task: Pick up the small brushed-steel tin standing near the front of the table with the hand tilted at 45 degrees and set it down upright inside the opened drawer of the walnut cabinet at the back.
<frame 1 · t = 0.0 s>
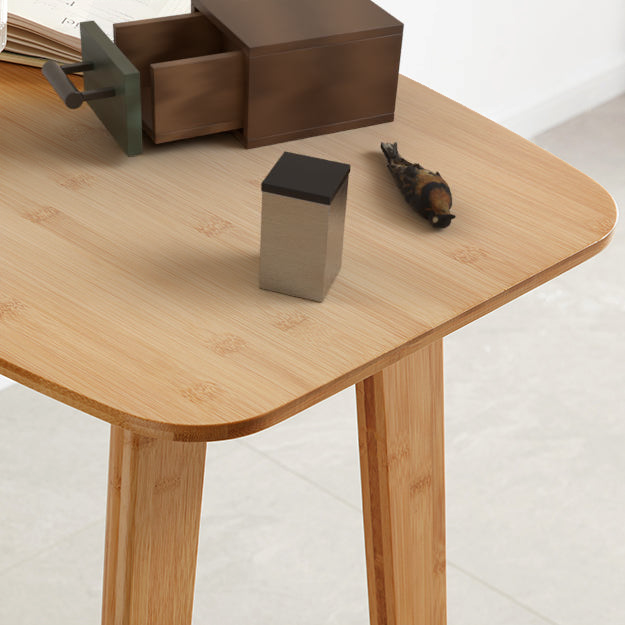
bird model: (414, 195, 86), on the table
drawer: (155, 80, 89), point 4 cm above the table, slide at 8.5 cm
steel tin: (300, 277, 76), on the table
cabinet: (291, 105, 97), on the table
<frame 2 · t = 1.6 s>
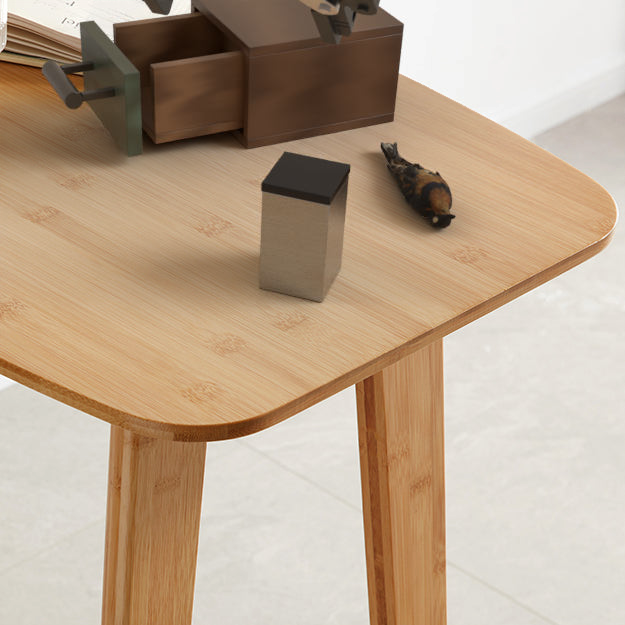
hand: (250, 10, 54), 23 cm above the table, tool tilted 45°, fingers open, 8 cm apart
nothing on the table moved.
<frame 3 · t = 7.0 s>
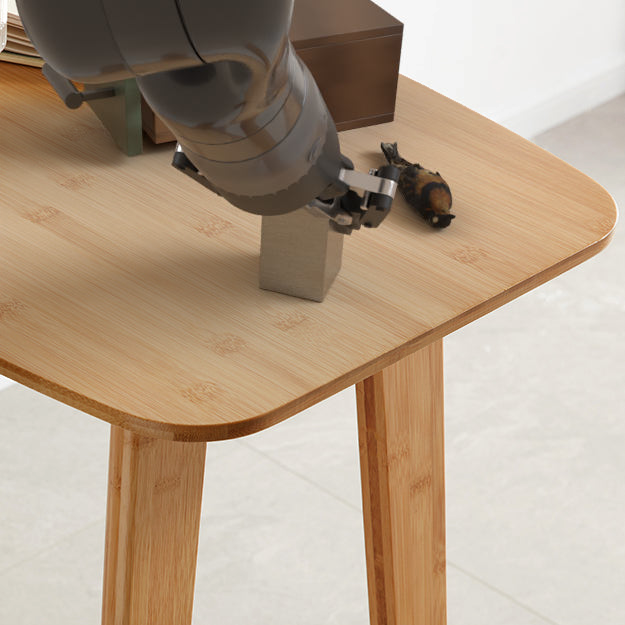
hand: (312, 211, 75), 4 cm above the table, tool tilted 45°, fingers closed on steel tin, 4 cm apart
steel tin: (300, 277, 76), on the table, touching gripper
everything else where it was.
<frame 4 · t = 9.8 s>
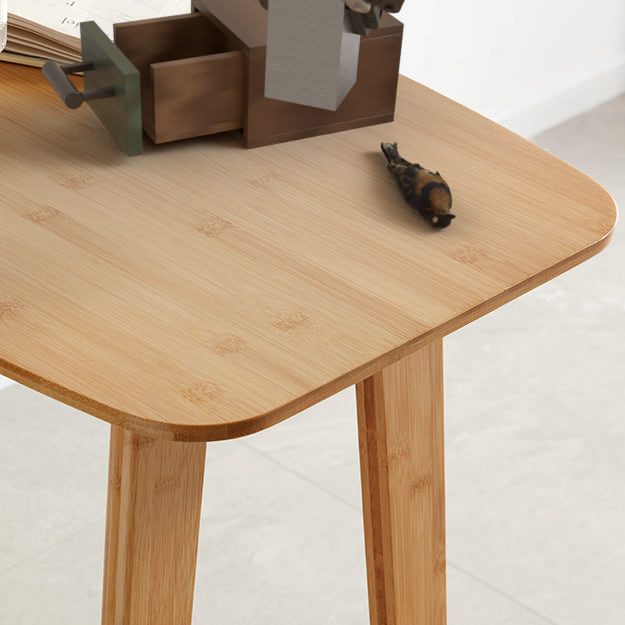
hand: (324, 12, 67), 18 cm above the table, tool tilted 45°, fingers closed on steel tin, 4 cm apart
steel tin: (310, 89, 68), point 14 cm above the table, touching gripper
everything else where it was.
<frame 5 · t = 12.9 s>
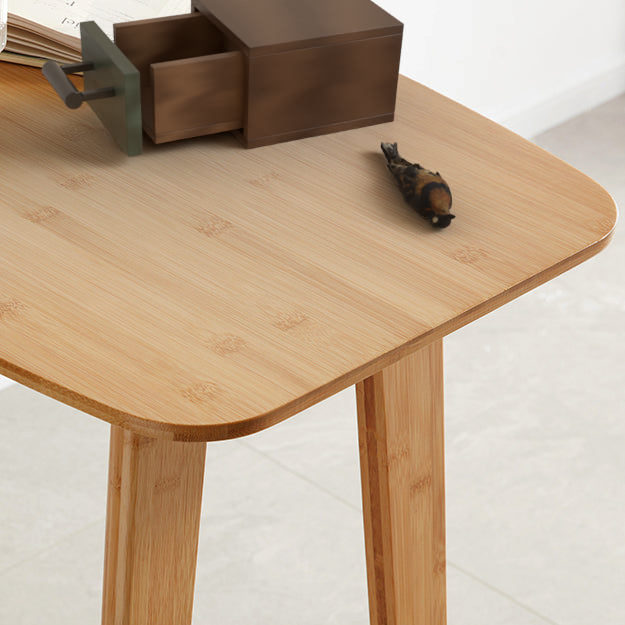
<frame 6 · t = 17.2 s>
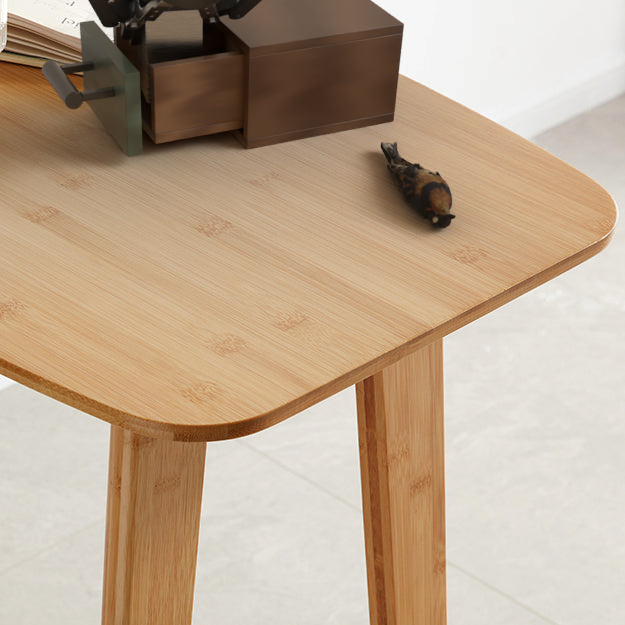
hand: (163, 31, 90), 7 cm above the table, tool tilted 45°, fingers closed on steel tin, 4 cm apart
steel tin: (169, 89, 91), point 3 cm above the table, touching gripper
everything else where it was.
when the fingers open (7 cm above the table, at t = 19.0 s): steel tin drops 1 cm, resting on drawer.
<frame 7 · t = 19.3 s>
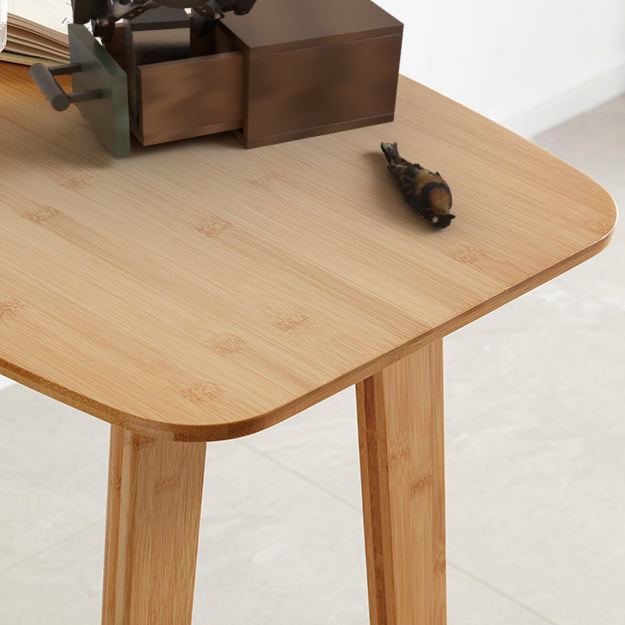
hand: (151, 28, 89), 8 cm above the table, tool tilted 45°, fingers open, 7 cm apart
drawer: (143, 82, 89), point 4 cm above the table, slide at 9.5 cm, touching gripper, steel tin
steel tin: (158, 106, 91), point 2 cm above the table, touching drawer
everything else where it was.
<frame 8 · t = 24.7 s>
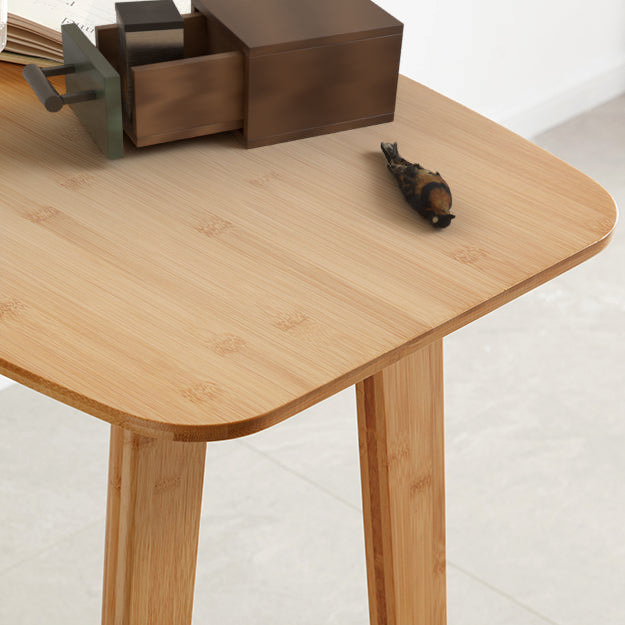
drawer: (137, 83, 89), point 4 cm above the table, slide at 10.0 cm, touching steel tin
everything else where it was.
at the end: steel tin inside the target area in the drawer (1.3 cm from its centre), point 2.0 cm above the cabinet's base; steel tin tilted 0°; the gripper is holding nothing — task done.
